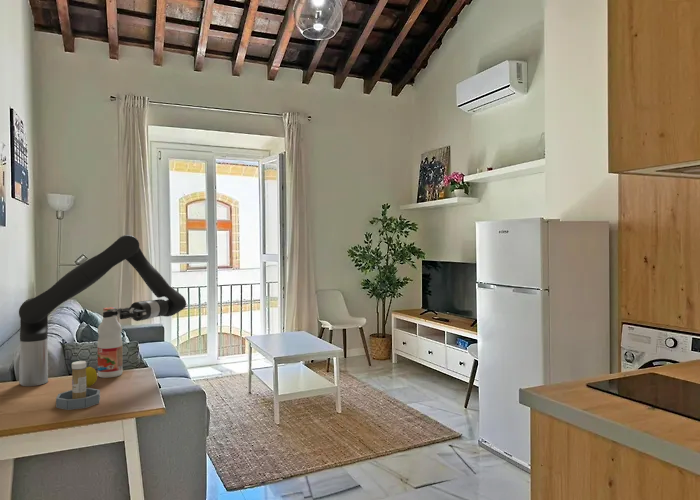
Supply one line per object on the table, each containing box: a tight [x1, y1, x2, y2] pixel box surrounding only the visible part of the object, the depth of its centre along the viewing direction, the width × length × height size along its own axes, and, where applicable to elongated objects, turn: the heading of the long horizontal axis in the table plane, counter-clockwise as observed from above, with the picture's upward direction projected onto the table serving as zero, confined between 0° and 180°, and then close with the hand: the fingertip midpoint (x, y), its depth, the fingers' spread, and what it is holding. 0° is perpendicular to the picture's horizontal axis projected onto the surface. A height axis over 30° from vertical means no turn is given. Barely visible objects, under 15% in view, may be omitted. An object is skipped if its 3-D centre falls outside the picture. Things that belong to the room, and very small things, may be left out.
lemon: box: [86, 366, 98, 388], centre depth 198 cm, size 6×6×8 cm
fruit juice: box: [96, 306, 124, 379], centre depth 215 cm, size 9×9×28 cm
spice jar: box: [71, 360, 87, 399], centre depth 179 cm, size 5×5×14 cm
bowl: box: [55, 387, 101, 411], centre depth 179 cm, size 13×13×3 cm
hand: (111, 315), depth 194 cm, fingers open, 8 cm apart
